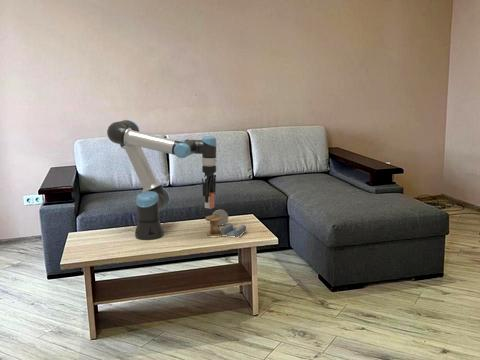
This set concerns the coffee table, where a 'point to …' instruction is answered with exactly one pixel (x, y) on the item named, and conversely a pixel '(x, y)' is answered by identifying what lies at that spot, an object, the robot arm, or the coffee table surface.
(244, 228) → the notched board
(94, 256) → the coffee table surface
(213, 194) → the salmon pink block
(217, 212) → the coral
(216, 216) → the spool
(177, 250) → the coffee table surface
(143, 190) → the robot arm
